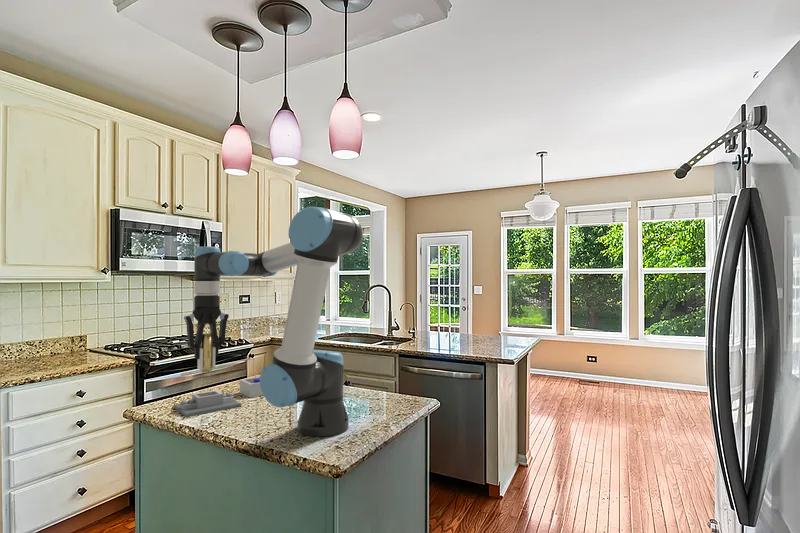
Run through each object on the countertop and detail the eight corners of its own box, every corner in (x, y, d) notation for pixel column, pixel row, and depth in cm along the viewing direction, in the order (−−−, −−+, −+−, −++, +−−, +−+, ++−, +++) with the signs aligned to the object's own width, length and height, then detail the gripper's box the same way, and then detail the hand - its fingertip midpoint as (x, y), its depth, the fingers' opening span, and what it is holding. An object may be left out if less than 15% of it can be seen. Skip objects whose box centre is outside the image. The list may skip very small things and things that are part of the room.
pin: (213, 371, 137) (213, 333, 137) (202, 373, 135) (203, 334, 135) (209, 370, 139) (210, 333, 140) (199, 371, 137) (199, 333, 137)
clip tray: (293, 389, 174) (293, 377, 174) (250, 397, 162) (250, 384, 162) (282, 385, 181) (282, 373, 181) (239, 392, 169) (239, 379, 169)
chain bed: (240, 406, 150) (241, 393, 150) (185, 417, 138) (185, 403, 138) (226, 398, 161) (226, 386, 161) (173, 407, 149) (174, 394, 149)
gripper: (228, 294, 146) (227, 363, 145) (176, 295, 135) (175, 370, 134) (236, 294, 140) (236, 366, 139) (183, 295, 130) (182, 373, 129)
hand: (206, 368), depth 137 cm, fingers closed on pin, 3 cm apart
